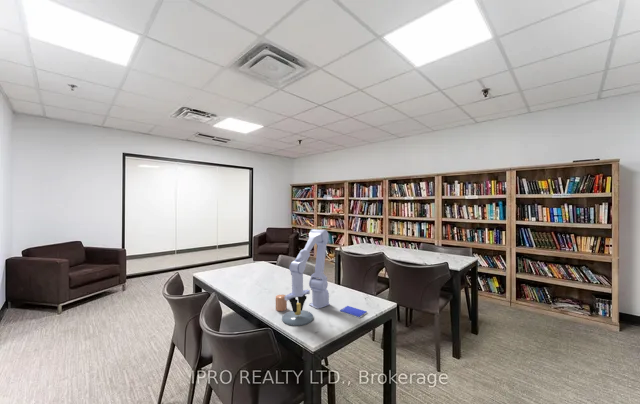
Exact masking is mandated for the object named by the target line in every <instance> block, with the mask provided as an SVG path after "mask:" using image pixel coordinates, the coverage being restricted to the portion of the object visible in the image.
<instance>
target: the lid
mask: <svg viewBox="0 0 640 404" xmlns="http://www.w3.org/2000/svg"><path fill="white" fill-rule="evenodd" d="M281 320H282V321H281V322H282V323H284V324H285V325H288V326H293V327H294V326H295V327H299V326H301V327H302V326H306V325H308V324H310V323H312V322H313V320H314V315H313V313H312V312H310V311H308V310H303V309H302V311H301V314H300V315H295V312H293V310H291V311H287V312H285V313H284V314H283V315H282V317H281Z"/></svg>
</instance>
